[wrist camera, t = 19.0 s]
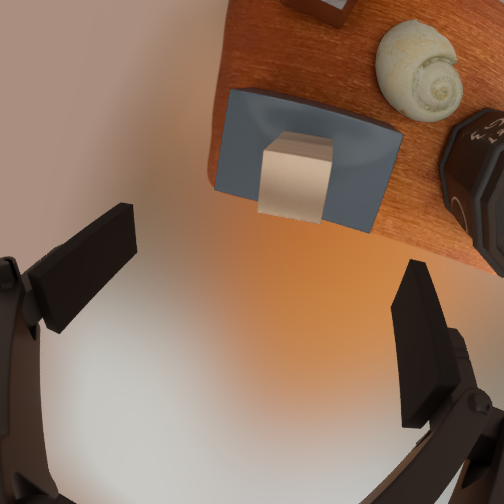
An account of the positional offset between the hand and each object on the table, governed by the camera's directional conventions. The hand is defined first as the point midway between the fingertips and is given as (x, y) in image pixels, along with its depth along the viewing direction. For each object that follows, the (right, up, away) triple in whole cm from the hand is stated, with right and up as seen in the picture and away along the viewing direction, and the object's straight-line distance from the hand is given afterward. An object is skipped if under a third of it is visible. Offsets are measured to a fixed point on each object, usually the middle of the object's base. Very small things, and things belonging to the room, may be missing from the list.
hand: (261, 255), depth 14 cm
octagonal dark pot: (+32, +11, +20) cm, 40 cm away
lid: (+5, +10, +18) cm, 21 cm away
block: (+5, +10, +17) cm, 21 cm away
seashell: (+19, +22, +17) cm, 34 cm away
